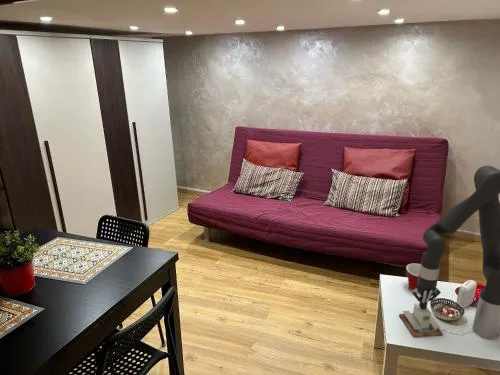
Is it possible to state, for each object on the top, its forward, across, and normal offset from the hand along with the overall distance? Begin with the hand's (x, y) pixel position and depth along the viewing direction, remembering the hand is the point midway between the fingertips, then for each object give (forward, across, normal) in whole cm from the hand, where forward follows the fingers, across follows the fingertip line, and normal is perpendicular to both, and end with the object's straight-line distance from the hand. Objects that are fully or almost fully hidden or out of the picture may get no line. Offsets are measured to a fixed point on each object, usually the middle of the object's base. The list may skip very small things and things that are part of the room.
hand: (422, 308), depth 161 cm
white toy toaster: (+10, +29, +13) cm, 33 cm away
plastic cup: (+10, +11, +27) cm, 31 cm away
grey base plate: (+8, 0, 0) cm, 8 cm away
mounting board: (+10, 0, 0) cm, 10 cm away
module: (+8, 0, 0) cm, 8 cm away
